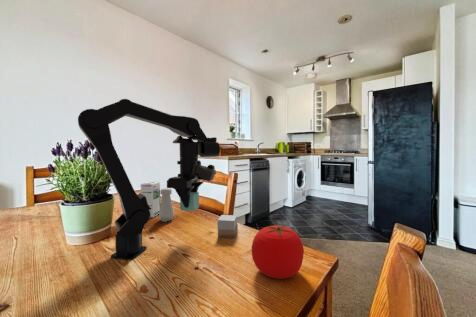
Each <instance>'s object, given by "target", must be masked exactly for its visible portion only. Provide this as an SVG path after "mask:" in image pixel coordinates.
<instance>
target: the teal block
mask: <svg viewBox="0 0 476 317" xmlns="http://www.w3.org/2000/svg"><path fill="white" fill-rule="evenodd" d="M179 206H180V207H179V208H180V211H187V212H188V211H189V212H194V211H196V210H197V209H198V208H200V192H198V191H197V192H190V200H189V207H188V208H185V207H184V205H183V203H182V201H181V199H180V198H179Z"/></svg>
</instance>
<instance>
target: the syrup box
mask: <svg viewBox="0 0 476 317" xmlns="http://www.w3.org/2000/svg"><path fill="white" fill-rule="evenodd" d="M160 183H161V182H160V181H148V182H144V183H141V184H140V193H141V194H143V195H144V196H145V197H146V199H147V203H148V205H149V207H150V208H151V210H149V211H150V218H155V217H157V216H159V215H158V214H159V211H160V205H161V184H160Z"/></svg>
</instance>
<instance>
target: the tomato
mask: <svg viewBox="0 0 476 317" xmlns="http://www.w3.org/2000/svg"><path fill="white" fill-rule="evenodd" d="M304 249H305V248H304V244H303V241H302V240H301V237H300V236H299V234H298V233H297V232H296V231H294V229H292V228H290V227H287V226H285V225H280V224H278V225H277V224H276V225H269V226H268V225H267V226H265V227H263V228H261V229H259V230H258V232H257V233H256V234H255V236H254V237H253V239H252V245H251V257H252V260H253V262H254V265H255V266H256V268H257V269H258V270H259V272H261V274H264V275H265V276H267V277H268V278H269V277H270V278H272V279H277V280H280V279H281V280H283V279H284V280H285V279H288V278H291V277H293V276H295V275H296V274H297V273H298V272H299V271H300V270H301V267H302V264H303V260H304V251H305V250H304Z"/></svg>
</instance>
